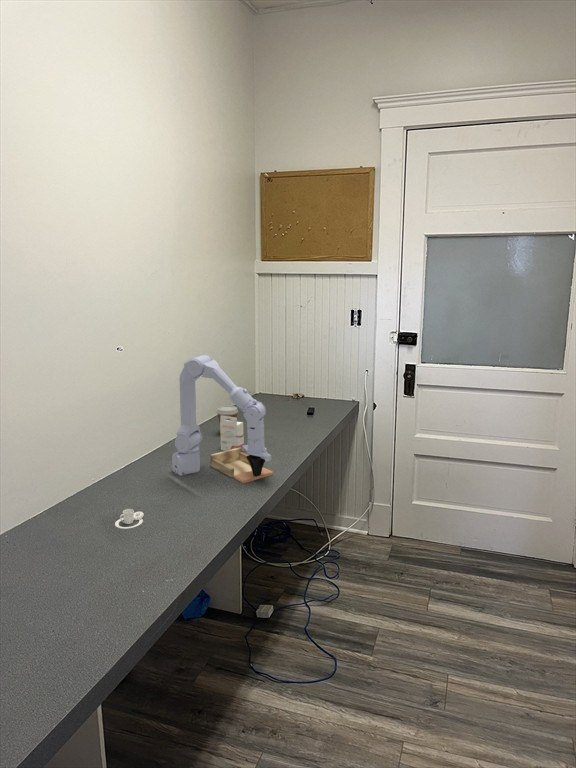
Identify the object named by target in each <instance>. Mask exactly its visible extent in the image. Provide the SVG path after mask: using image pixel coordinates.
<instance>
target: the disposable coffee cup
mask: <svg viewBox="0 0 576 768" xmlns="http://www.w3.org/2000/svg"><path fill="white" fill-rule="evenodd" d="M238 409H239V408H238V406H234V405H222V406H218V407H217V409H216V413H217V417H218V418H217V419H218V424H219V425H220V416H221V415H222V416H229V417H236V418H237V419H238V413H239V410H238ZM226 420H229V421H231V420H230V419H226Z"/></svg>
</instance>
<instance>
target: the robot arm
mask: <svg viewBox="0 0 576 768" xmlns="http://www.w3.org/2000/svg"><path fill="white" fill-rule="evenodd" d="M201 377H202V378H204V379H207V378H208V379H213V380H214V381H215V382H216V383H217V384H219V386H220V387H222V388H223V389H224V390H225V391H226V392H227V393H229V399H230V401H232V403H233V404H234V405H236V407H237V408H238V409H239V410H241V411H242V412H243V417H244V419H245V420H246V423H247V424H246V431H247V444H244V445H243V446H242V452H246V454H248V455H249V456H247V457H246V458H247V460H248V461H249V463H250V466H251V469H252V472H253V475H254V476H256V477H257V476H260V475H261V472H262V468H263V467H264V464H265V462H271V461H272V455H271V454H270V453H269V452H268V449H267V447H265V422H264V420H265V418H264V417H265V416H266V413H267V408H266V405H265V404H264V403H263V402H261V401H258V400H257V399H254V398H253V397H252V395H251V394H250V393H248V389H247V388H243V387H242V386H237V385H236V384H235V383H234V382H233V380H231V378H230V377H229V376H228V374H226V373H225V371H224V370H223V369H222V368H221V367H220V365H219V364H218V362H217V361H216V360H215V359H214V358H213V357H212V356H211V355H210V354H206V353H203V354H201V355H199V356H195V357H192V358H189V359H188V360H187V361H185V362H184V363H183V368H182V371H181V372H180V374H179V404H180V411H179V412H180V426H179V428H178V430H177V431H176V438H175V440H174V448H175V449H176V450H177V452H174V453H173V454H172V456H171V462H172V463H171V464H172V465H171V466H172V472H173V473H174V474H177V475H179V476H181V477H182V476H185V475H190V474H194V473H198V472H199V471H200V470H201V462H200V461H201V459H200V444H201V443H202V441H203V436H202V433H201V430H200V425H198V424H197V405H196V403H197V402H196V401H197V399H196V381H197V380H198V379H199V378H201Z"/></svg>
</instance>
